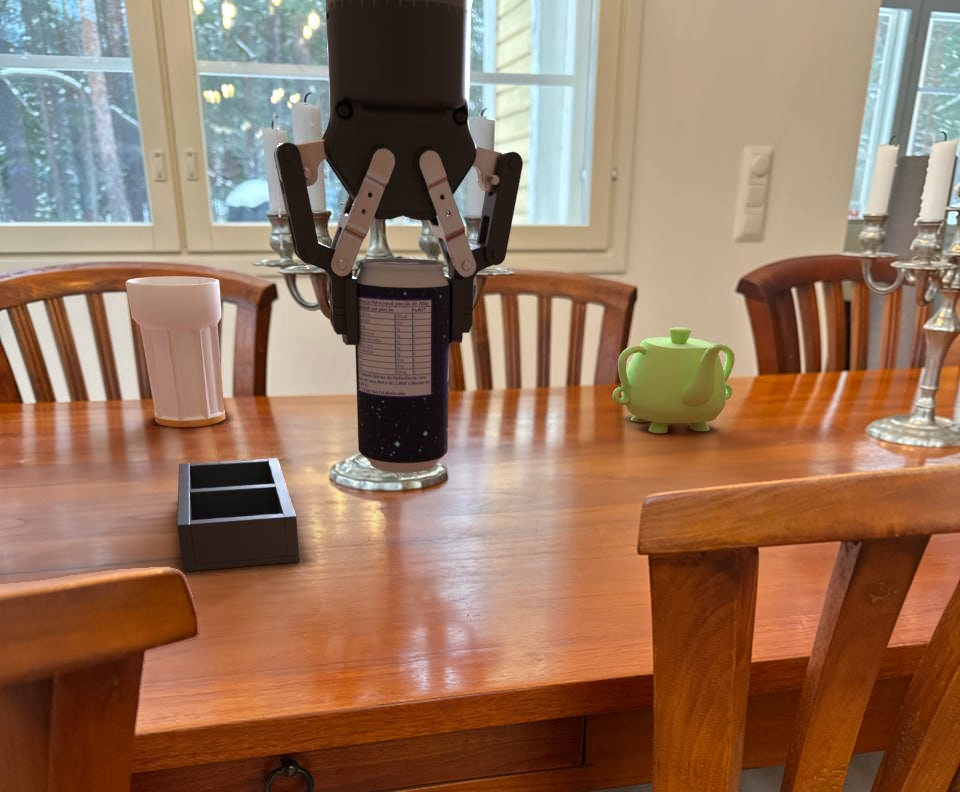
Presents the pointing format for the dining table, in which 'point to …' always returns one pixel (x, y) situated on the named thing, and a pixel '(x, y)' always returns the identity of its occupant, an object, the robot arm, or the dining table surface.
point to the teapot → (674, 381)
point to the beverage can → (402, 363)
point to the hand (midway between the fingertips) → (401, 341)
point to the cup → (180, 346)
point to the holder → (235, 515)
